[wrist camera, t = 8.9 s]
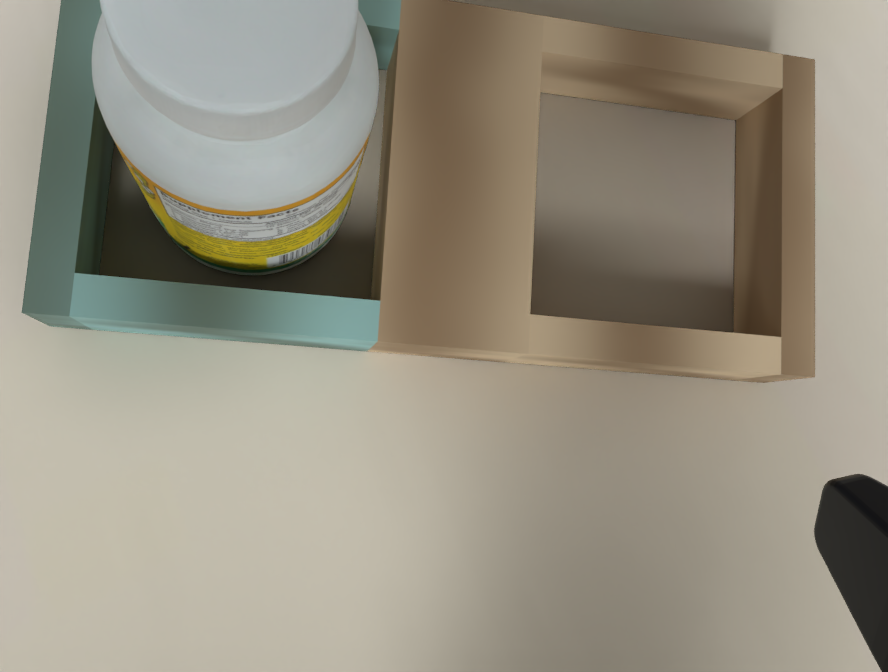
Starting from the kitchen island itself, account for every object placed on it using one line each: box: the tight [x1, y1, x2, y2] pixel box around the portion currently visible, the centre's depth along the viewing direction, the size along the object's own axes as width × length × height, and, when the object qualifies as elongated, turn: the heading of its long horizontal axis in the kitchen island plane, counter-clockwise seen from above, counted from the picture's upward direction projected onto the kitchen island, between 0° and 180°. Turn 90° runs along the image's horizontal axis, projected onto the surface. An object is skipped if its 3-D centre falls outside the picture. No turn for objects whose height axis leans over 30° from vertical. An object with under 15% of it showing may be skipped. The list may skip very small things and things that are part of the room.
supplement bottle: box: [92, 0, 379, 275], centre depth 18 cm, size 5×5×10 cm
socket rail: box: [22, 0, 815, 383], centre depth 22 cm, size 20×9×2 cm, turn 87°
